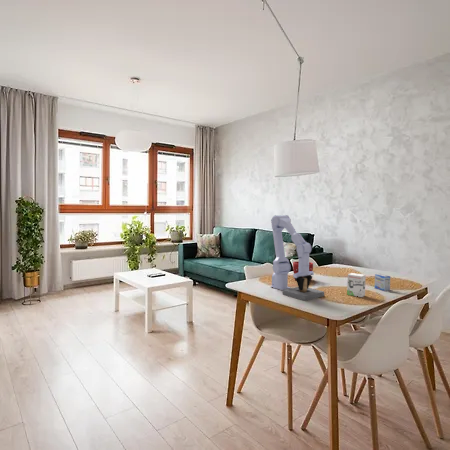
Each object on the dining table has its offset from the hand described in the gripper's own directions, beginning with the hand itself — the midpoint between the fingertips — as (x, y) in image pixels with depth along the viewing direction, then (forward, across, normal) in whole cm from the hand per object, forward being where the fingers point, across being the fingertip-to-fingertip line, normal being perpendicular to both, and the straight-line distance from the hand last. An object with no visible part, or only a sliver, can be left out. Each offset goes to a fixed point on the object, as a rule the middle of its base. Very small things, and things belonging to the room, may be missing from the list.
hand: (303, 289), depth 192 cm
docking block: (+3, 0, 0) cm, 3 cm away
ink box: (+4, +24, -17) cm, 30 cm away
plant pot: (+4, +30, +27) cm, 41 cm away
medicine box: (+4, +49, -18) cm, 52 cm away
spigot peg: (+2, 0, 0) cm, 2 cm away
